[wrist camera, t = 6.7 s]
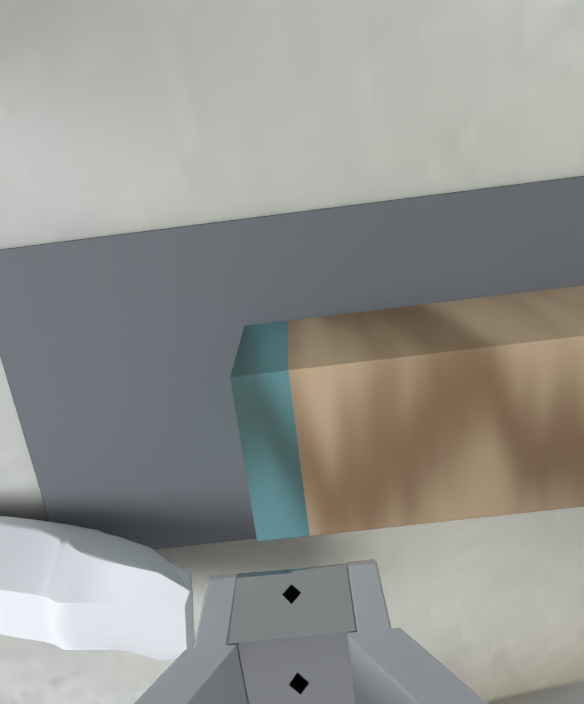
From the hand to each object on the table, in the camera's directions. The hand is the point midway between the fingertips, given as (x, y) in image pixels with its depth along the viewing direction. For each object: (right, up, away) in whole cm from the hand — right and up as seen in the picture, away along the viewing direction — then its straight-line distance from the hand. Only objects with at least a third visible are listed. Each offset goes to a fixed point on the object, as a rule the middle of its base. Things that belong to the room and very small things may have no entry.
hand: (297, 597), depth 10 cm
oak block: (-1, +2, +7) cm, 8 cm away
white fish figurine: (-12, -3, +12) cm, 17 cm away
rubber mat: (+1, +3, +10) cm, 11 cm away
